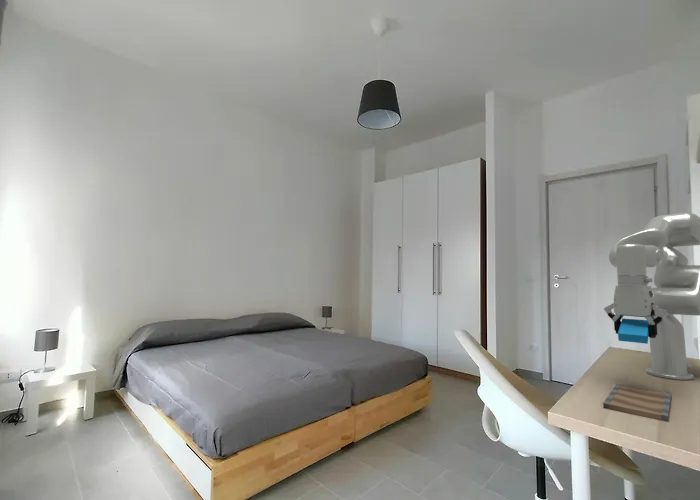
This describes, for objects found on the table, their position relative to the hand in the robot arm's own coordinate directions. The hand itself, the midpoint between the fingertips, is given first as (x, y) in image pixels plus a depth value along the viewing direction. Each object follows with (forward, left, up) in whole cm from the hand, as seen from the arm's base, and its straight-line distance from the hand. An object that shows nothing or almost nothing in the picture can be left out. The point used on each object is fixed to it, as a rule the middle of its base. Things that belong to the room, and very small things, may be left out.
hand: (635, 335), depth 112 cm
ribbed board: (+14, +8, -17) cm, 23 cm away
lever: (0, 0, -2) cm, 2 cm away
